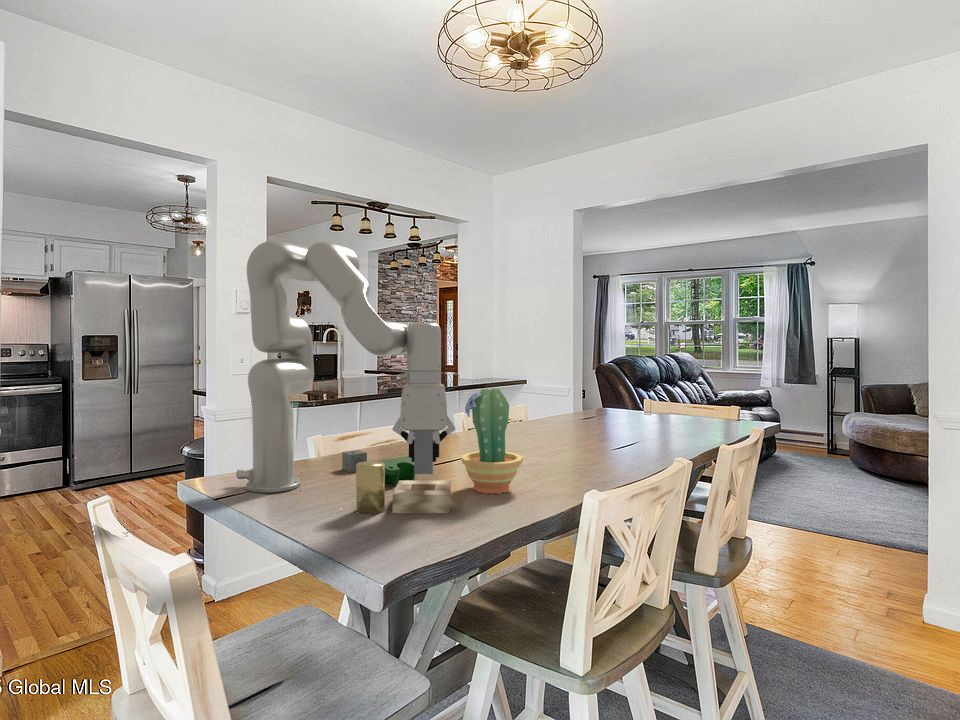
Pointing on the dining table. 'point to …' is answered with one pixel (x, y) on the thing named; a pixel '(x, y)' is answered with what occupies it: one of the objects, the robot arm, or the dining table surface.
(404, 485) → the socket block
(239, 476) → the robot arm
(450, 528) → the dining table surface
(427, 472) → the square bit
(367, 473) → the round bit
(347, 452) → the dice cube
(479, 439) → the potted cactus
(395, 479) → the clamp
